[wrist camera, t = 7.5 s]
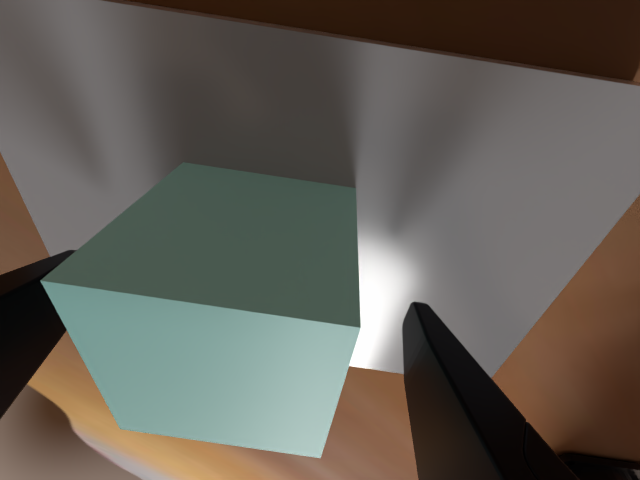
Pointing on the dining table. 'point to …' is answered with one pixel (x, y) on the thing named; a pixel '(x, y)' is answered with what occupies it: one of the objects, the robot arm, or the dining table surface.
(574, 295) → the dining table surface
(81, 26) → the slate board
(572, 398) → the dining table surface
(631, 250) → the dining table surface
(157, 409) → the teal cube
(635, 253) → the dining table surface
